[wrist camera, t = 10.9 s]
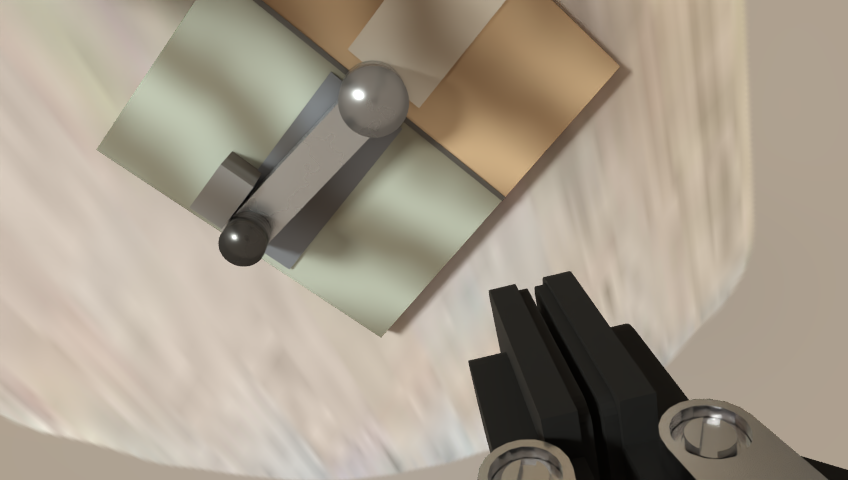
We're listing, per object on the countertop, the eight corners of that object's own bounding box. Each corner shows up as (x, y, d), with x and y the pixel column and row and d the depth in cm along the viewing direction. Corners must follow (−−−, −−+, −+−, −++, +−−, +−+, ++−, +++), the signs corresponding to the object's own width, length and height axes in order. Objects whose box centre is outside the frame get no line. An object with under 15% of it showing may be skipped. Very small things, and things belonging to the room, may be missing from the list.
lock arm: (371, 46, 33) (372, 52, 29) (418, 93, 34) (426, 105, 30) (217, 212, 35) (199, 239, 31) (266, 251, 36) (254, 281, 33)
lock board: (336, -203, 30) (332, -234, 26) (612, 64, 36) (642, 72, 32) (104, 145, 35) (72, 163, 31) (380, 328, 41) (382, 362, 37)
